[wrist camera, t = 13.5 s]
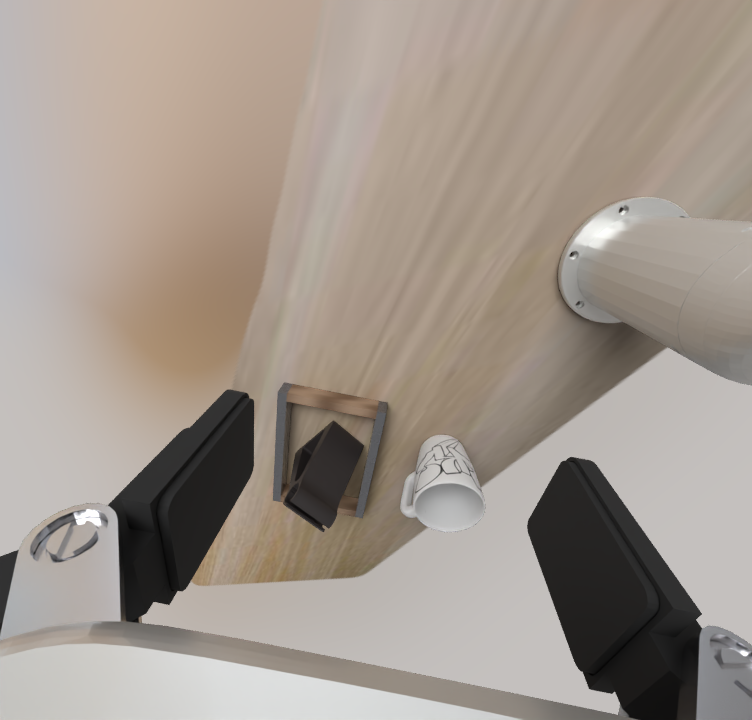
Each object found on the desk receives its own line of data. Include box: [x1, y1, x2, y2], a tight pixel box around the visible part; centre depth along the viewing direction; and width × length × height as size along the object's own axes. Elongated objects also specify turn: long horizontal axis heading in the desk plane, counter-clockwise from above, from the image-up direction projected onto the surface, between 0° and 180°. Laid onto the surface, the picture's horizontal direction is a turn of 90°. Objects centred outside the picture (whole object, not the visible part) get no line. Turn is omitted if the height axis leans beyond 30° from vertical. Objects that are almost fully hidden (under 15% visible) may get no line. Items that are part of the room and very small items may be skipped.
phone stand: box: [283, 421, 364, 532], centre depth 44 cm, size 9×6×12 cm, turn 135°
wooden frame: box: [273, 383, 387, 518], centre depth 48 cm, size 14×20×2 cm
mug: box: [400, 435, 485, 532], centre depth 44 cm, size 11×8×10 cm
